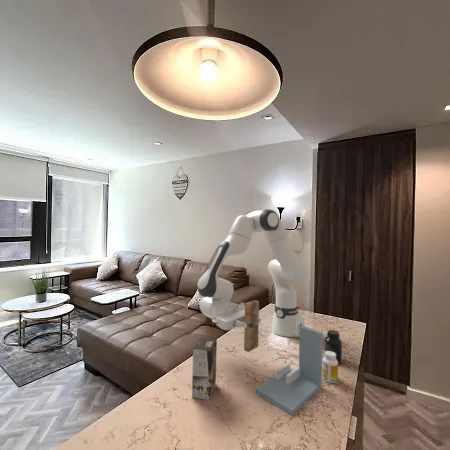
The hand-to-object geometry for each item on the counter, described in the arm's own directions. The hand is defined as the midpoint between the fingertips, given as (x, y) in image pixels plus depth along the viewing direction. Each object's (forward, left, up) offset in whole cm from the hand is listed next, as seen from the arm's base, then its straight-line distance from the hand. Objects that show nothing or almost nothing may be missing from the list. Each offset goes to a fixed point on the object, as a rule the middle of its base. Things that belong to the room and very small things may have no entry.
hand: (253, 323), depth 97 cm
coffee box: (+19, -5, -20) cm, 28 cm away
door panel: (0, -1, -10) cm, 10 cm away
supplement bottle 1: (-35, +17, -20) cm, 43 cm away
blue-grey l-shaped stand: (-3, +15, -20) cm, 25 cm away
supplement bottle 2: (-20, +22, -20) cm, 35 cm away
